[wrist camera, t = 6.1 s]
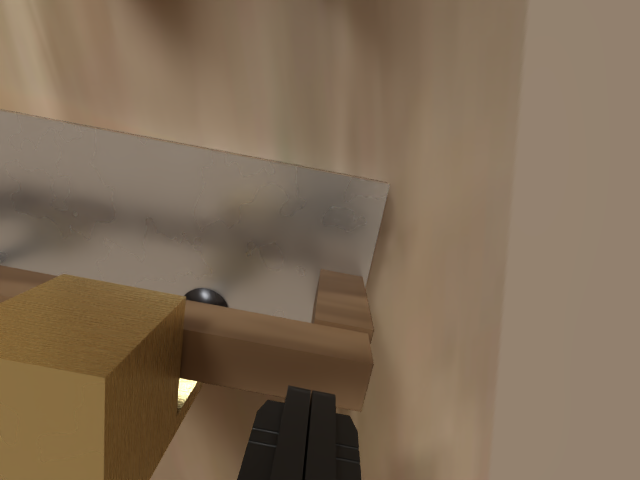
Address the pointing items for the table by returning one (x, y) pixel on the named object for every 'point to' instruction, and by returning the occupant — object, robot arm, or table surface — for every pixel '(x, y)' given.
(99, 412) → the sliding head
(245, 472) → the robot arm
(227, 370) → the bar
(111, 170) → the bolt plate
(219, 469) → the table surface
